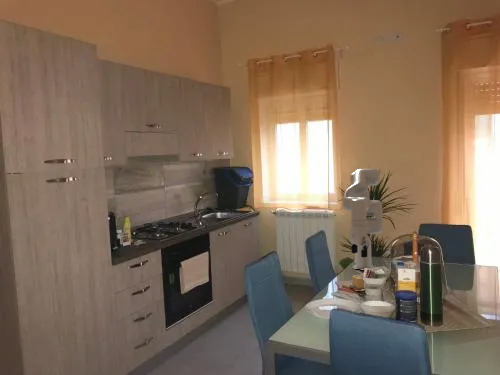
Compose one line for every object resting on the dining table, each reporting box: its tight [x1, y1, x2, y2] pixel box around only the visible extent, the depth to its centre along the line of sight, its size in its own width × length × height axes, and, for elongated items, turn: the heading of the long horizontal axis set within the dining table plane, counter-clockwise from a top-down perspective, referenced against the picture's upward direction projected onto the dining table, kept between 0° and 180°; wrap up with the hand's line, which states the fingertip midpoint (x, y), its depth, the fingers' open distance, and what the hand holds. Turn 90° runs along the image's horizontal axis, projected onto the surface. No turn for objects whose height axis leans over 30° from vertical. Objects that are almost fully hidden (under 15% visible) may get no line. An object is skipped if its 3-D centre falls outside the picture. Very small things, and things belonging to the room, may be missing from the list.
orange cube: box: [351, 274, 365, 288], centre depth 210 cm, size 6×6×5 cm
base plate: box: [349, 284, 364, 290], centre depth 210 cm, size 8×8×2 cm
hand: (359, 255), depth 209 cm, fingers open, 9 cm apart
